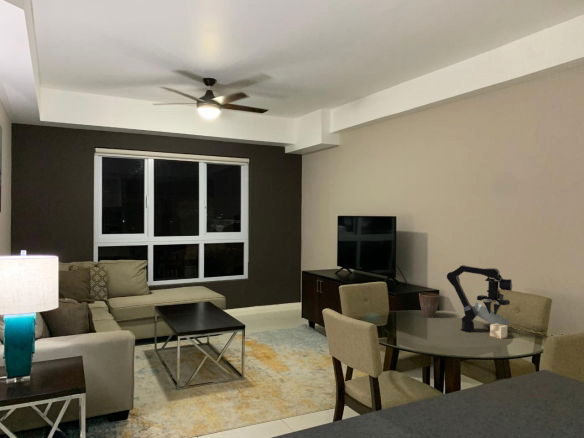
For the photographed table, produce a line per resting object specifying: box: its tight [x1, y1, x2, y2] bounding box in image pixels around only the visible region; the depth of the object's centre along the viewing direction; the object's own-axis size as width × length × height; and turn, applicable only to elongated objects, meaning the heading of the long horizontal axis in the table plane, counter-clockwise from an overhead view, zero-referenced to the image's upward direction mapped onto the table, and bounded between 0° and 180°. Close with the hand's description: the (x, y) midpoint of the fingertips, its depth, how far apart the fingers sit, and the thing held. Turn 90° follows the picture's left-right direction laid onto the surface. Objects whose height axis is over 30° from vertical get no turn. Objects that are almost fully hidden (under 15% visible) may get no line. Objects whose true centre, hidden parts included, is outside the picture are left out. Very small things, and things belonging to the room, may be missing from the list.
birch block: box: [489, 323, 509, 340], centre depth 275 cm, size 7×7×7 cm
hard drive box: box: [472, 301, 511, 326], centre depth 293 cm, size 16×8×20 cm
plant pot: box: [418, 292, 441, 319], centre depth 323 cm, size 15×15×16 cm
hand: (492, 313), depth 278 cm, fingers open, 3 cm apart
